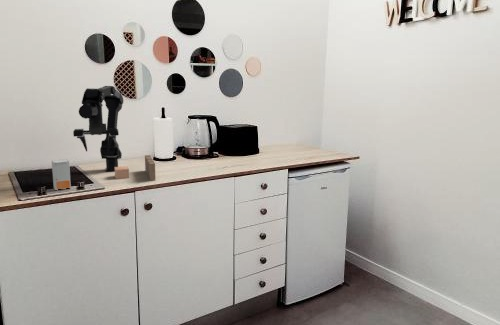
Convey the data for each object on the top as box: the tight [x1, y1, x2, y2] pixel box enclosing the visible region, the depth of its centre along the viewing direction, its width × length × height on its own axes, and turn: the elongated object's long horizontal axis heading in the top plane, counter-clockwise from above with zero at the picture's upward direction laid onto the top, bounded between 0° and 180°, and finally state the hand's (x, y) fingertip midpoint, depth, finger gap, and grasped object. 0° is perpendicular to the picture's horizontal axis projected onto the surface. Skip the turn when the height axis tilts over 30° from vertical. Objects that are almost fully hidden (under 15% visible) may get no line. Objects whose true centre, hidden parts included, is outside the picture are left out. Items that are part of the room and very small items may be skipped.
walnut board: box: [144, 154, 156, 181], centre depth 177 cm, size 21×2×8 cm, turn 21°
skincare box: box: [51, 159, 72, 191], centre depth 151 cm, size 6×4×12 cm
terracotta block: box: [114, 165, 130, 180], centre depth 173 cm, size 6×6×4 cm
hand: (97, 150), depth 167 cm, fingers open, 9 cm apart
